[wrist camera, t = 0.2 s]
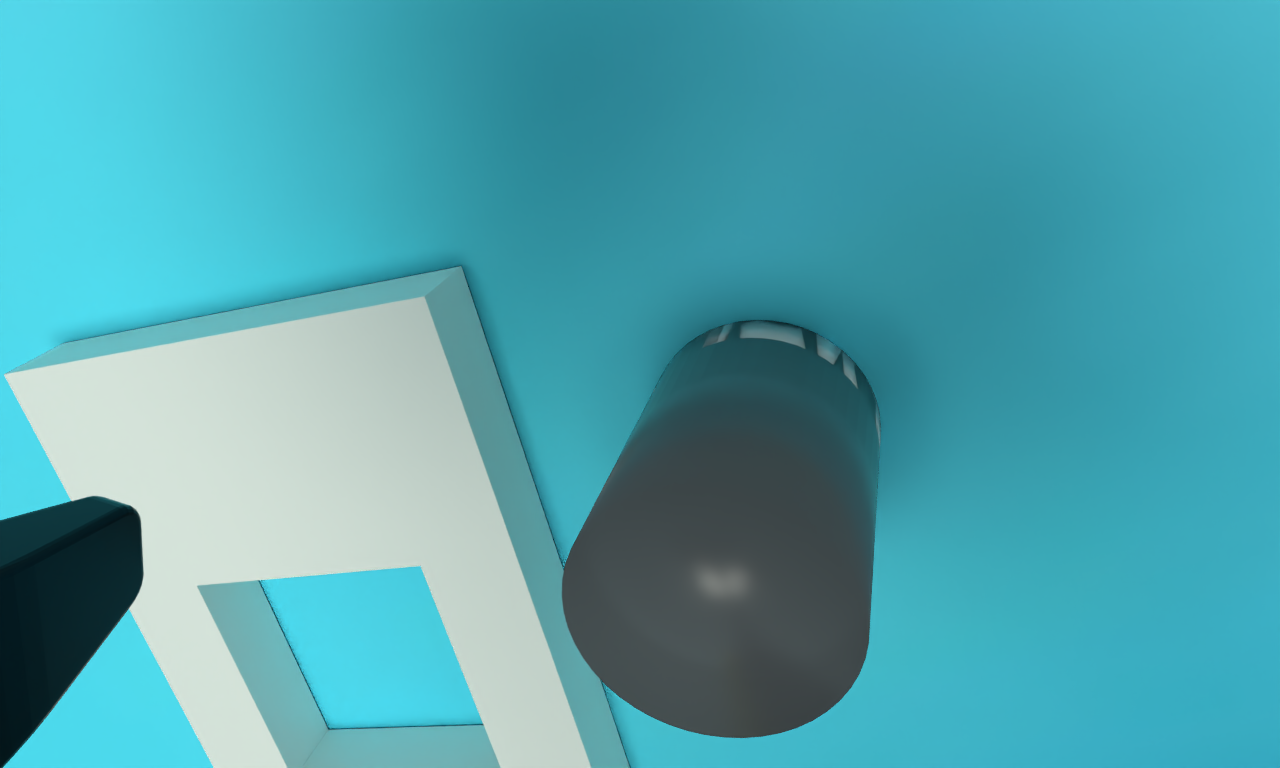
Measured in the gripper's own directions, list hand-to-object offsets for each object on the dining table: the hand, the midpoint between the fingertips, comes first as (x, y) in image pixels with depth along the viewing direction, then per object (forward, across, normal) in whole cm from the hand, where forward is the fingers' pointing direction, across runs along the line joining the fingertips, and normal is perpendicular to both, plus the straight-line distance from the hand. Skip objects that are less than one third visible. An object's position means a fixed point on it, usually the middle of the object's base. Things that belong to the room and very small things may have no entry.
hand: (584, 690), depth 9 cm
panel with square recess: (+14, +8, +14) cm, 21 cm away
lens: (+14, -1, +4) cm, 15 cm away
